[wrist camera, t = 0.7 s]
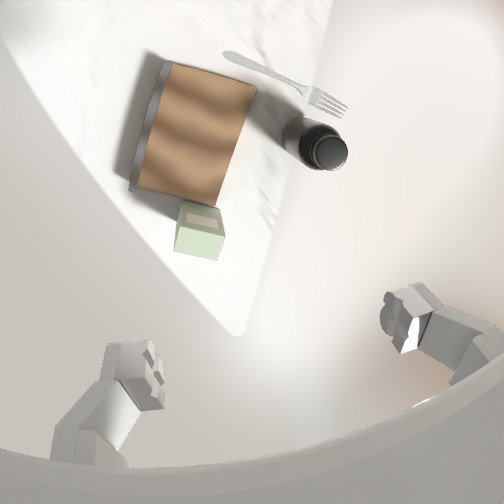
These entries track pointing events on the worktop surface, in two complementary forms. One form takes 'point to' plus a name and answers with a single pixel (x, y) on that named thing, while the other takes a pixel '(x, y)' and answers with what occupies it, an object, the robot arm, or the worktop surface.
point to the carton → (199, 231)
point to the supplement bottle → (315, 144)
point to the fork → (314, 92)
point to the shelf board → (190, 133)
